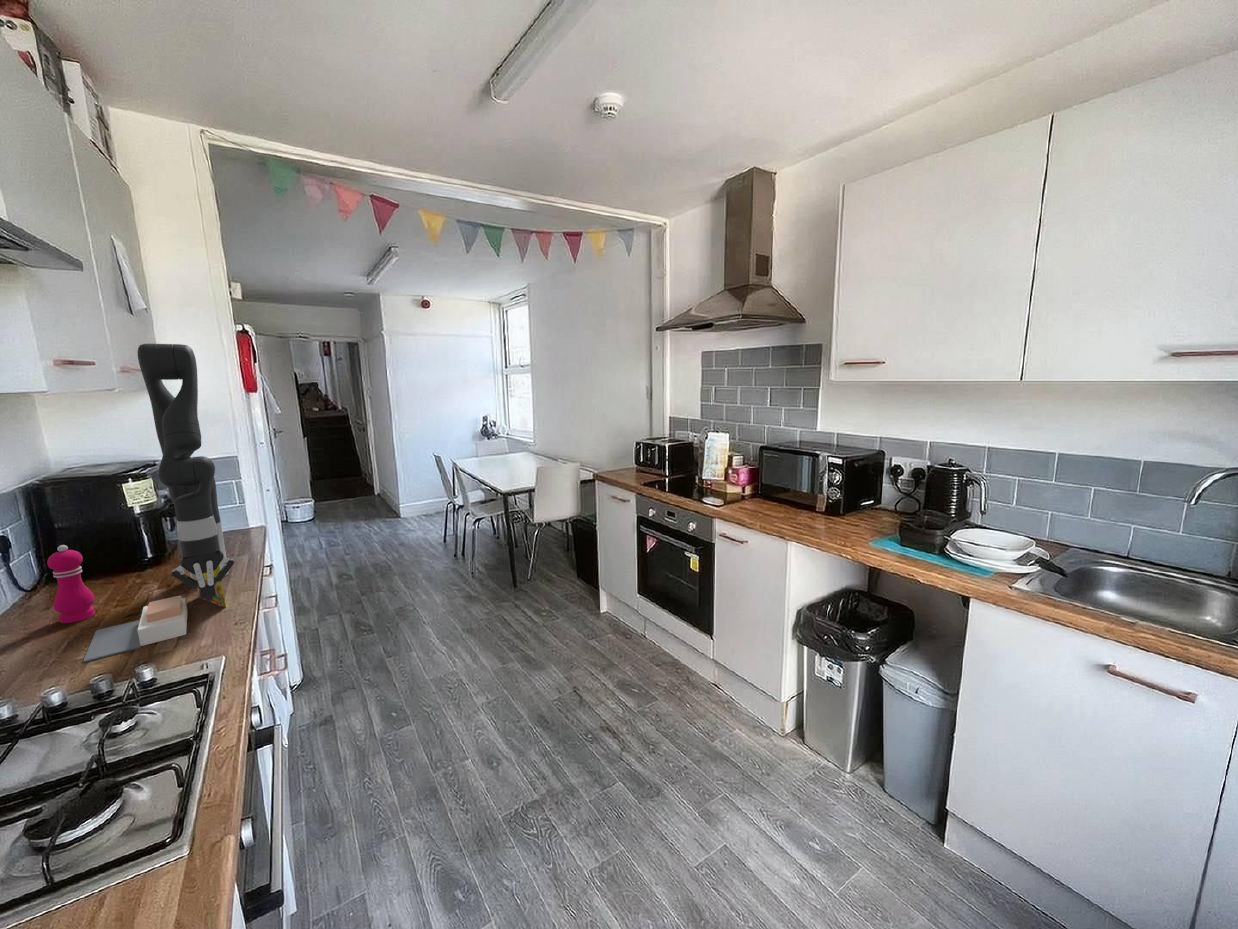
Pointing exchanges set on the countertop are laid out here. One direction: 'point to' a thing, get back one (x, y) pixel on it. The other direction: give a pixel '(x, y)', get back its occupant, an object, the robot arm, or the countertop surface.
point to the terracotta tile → (164, 608)
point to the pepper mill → (70, 586)
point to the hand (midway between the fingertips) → (209, 598)
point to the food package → (219, 596)
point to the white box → (162, 627)
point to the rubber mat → (113, 641)
